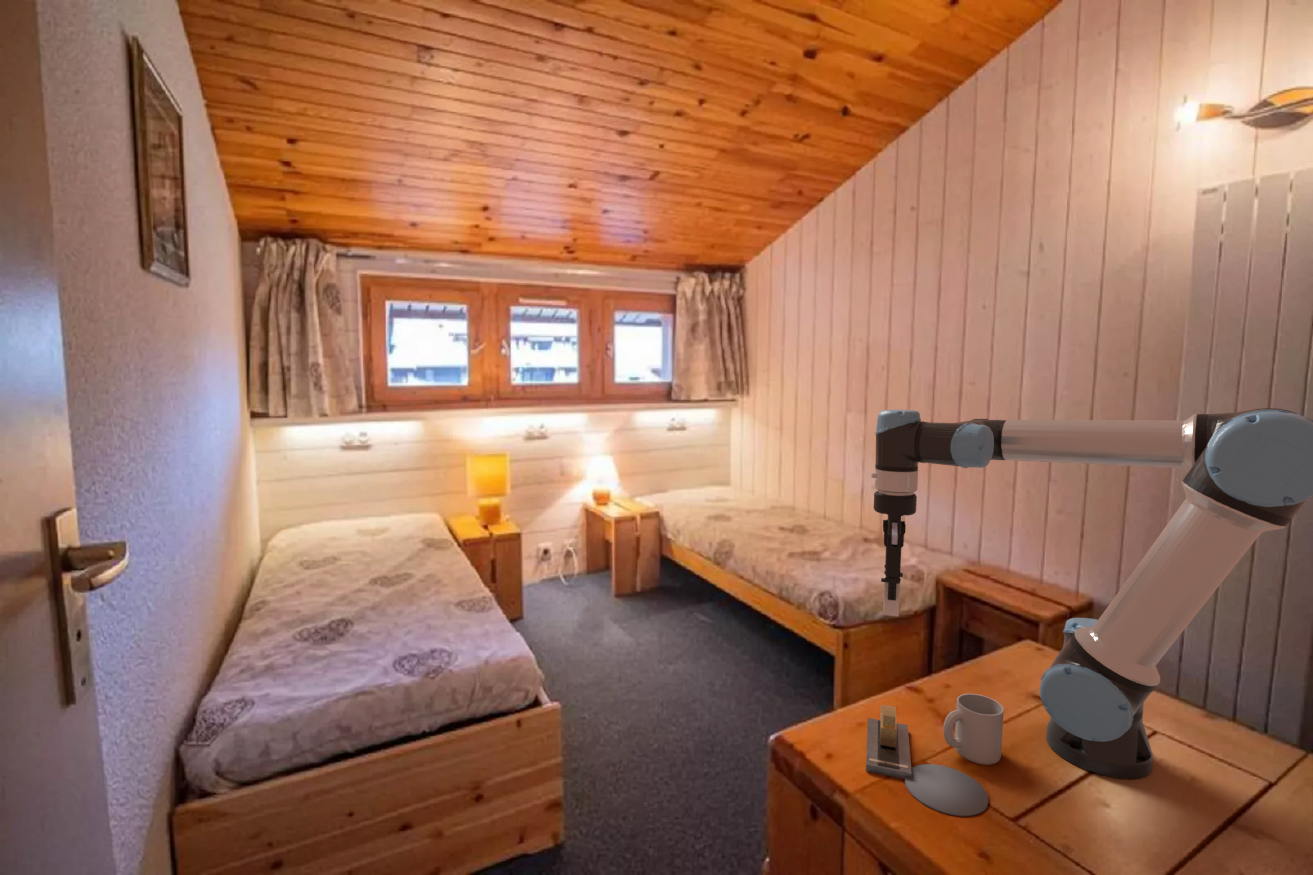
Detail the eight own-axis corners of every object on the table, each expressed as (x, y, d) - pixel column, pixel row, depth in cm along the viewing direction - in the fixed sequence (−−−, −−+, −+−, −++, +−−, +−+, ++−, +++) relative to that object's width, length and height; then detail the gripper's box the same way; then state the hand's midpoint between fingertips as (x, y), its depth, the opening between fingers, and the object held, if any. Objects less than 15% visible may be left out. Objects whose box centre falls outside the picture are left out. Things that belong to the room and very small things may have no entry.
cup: (1010, 764, 104) (1013, 714, 103) (954, 768, 103) (957, 717, 102) (983, 739, 111) (986, 692, 110) (931, 742, 110) (933, 695, 109)
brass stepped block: (895, 723, 114) (896, 696, 113) (896, 747, 106) (897, 719, 106) (880, 720, 114) (881, 694, 114) (880, 744, 107) (881, 716, 106)
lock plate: (907, 731, 114) (907, 724, 114) (911, 780, 100) (911, 773, 100) (867, 723, 116) (867, 717, 116) (865, 771, 102) (866, 763, 102)
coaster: (981, 775, 101) (981, 773, 101) (994, 824, 90) (994, 822, 90) (903, 759, 105) (903, 758, 105) (906, 805, 94) (906, 803, 94)
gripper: (874, 484, 124) (870, 597, 126) (873, 497, 110) (869, 624, 112) (914, 486, 121) (910, 602, 123) (919, 500, 107) (913, 630, 110)
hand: (890, 612), depth 118 cm, fingers open, 2 cm apart
